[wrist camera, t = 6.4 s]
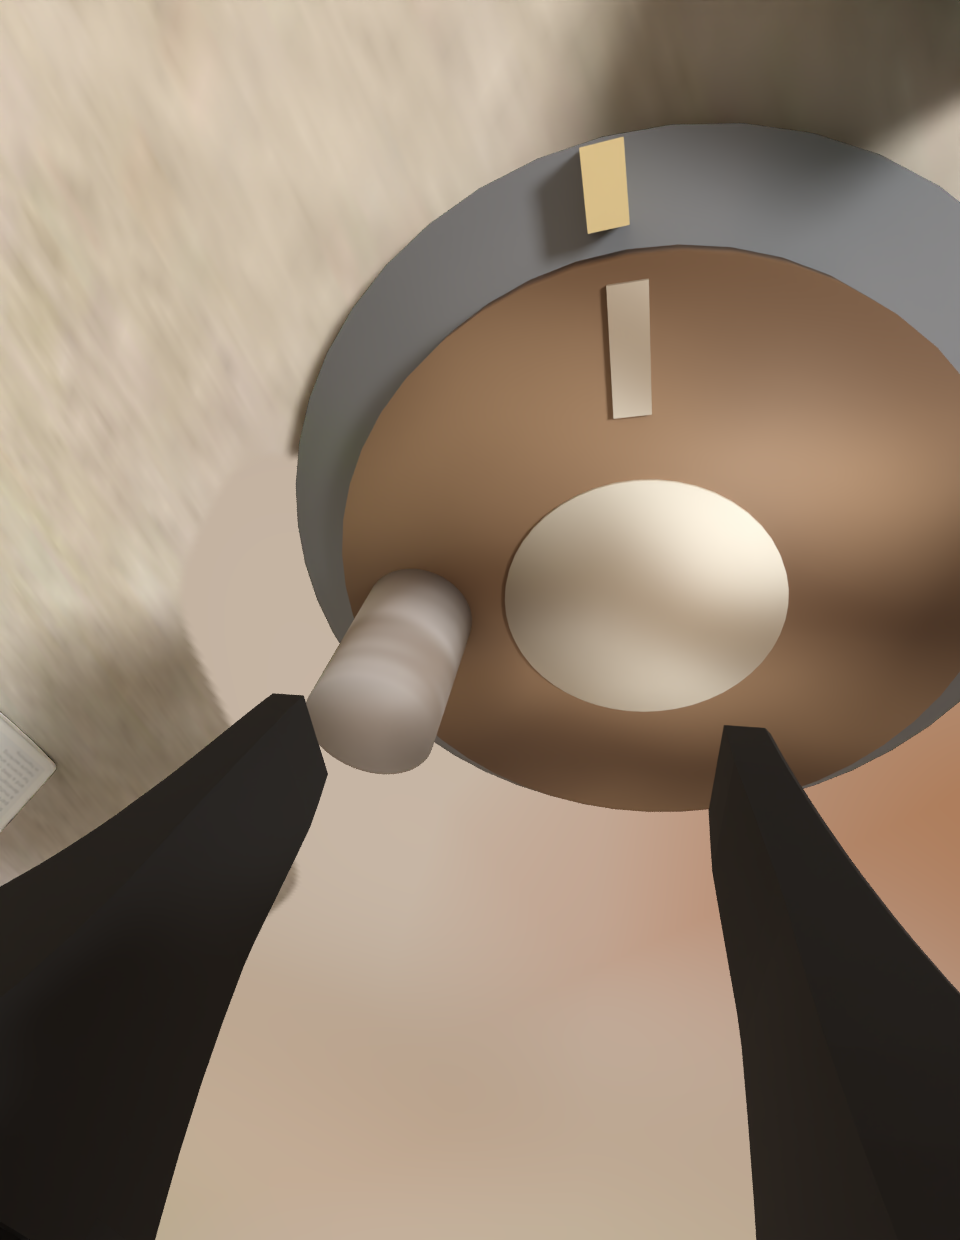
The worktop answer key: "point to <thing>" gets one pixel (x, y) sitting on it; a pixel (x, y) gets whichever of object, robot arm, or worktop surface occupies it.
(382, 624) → the turntable
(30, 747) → the syrup box
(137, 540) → the worktop surface
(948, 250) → the turntable base
